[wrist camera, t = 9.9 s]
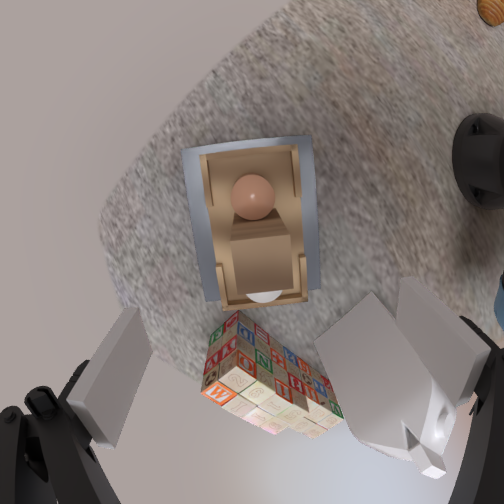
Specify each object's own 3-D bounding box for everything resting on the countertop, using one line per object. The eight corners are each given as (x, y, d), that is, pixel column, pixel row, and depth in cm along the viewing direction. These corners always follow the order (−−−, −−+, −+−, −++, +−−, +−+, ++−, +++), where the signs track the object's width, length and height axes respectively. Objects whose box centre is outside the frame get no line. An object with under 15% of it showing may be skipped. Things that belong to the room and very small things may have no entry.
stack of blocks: (331, 380, 46) (349, 435, 34) (303, 400, 47) (315, 455, 36) (237, 308, 41) (236, 366, 29) (208, 335, 42) (198, 394, 31)
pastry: (494, 36, 27) (507, 32, 23) (469, 8, 25) (481, 2, 22) (502, 13, 24) (514, 9, 20) (479, -13, 23) (490, -18, 19)
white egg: (276, 247, 30) (281, 263, 26) (280, 279, 31) (285, 300, 27) (240, 252, 30) (240, 268, 26) (245, 284, 31) (246, 305, 27)
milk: (313, 341, 43) (360, 495, 18) (371, 291, 41) (470, 423, 16) (355, 376, 46) (406, 503, 21) (407, 333, 43) (488, 448, 19)
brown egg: (271, 173, 28) (276, 177, 23) (269, 210, 29) (273, 220, 25) (233, 171, 28) (231, 175, 23) (232, 209, 29) (229, 219, 24)
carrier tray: (205, 154, 30) (179, 156, 18) (290, 145, 30) (320, 141, 18) (225, 292, 35) (217, 362, 23) (300, 283, 35) (326, 349, 23)
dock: (304, 136, 34) (311, 134, 30) (313, 275, 39) (320, 288, 36) (187, 149, 34) (180, 149, 30) (209, 287, 40) (205, 301, 36)
